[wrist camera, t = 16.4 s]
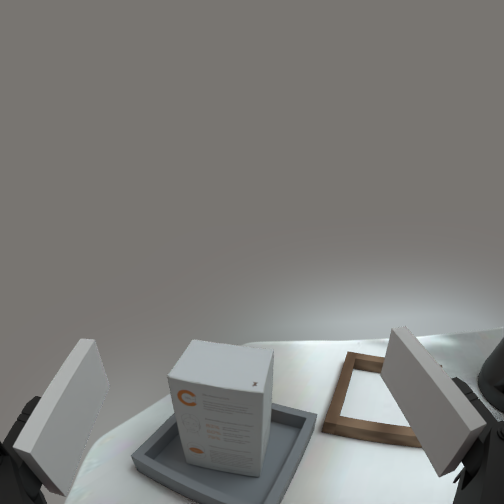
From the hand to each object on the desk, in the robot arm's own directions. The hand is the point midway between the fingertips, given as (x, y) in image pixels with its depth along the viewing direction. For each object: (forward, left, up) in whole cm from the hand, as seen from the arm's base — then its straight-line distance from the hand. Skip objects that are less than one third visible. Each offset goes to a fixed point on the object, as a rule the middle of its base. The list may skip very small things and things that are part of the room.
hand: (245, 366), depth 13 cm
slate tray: (+6, -9, -22) cm, 25 cm away
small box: (+6, -9, -21) cm, 24 cm away
